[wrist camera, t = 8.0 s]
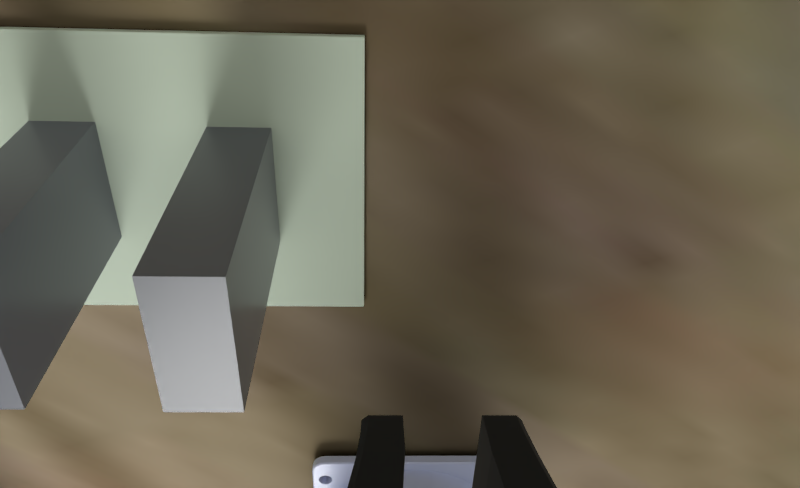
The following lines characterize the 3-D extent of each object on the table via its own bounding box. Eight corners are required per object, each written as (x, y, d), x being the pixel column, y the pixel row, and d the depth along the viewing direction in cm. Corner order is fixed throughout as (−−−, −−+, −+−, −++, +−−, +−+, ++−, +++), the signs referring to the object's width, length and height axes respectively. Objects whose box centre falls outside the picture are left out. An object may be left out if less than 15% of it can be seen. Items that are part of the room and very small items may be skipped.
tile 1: (271, 127, 19) (225, 276, 13) (280, 240, 21) (244, 412, 15) (206, 126, 19) (131, 276, 13) (221, 240, 21) (163, 411, 15)
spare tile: (95, 122, 19) (-30, 271, 13) (121, 236, 21) (24, 409, 15) (28, 120, 19) (-127, 270, 13) (62, 236, 21) (-59, 409, 15)
